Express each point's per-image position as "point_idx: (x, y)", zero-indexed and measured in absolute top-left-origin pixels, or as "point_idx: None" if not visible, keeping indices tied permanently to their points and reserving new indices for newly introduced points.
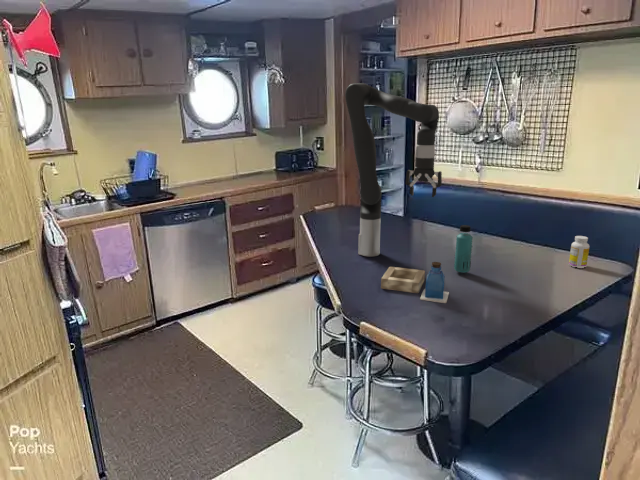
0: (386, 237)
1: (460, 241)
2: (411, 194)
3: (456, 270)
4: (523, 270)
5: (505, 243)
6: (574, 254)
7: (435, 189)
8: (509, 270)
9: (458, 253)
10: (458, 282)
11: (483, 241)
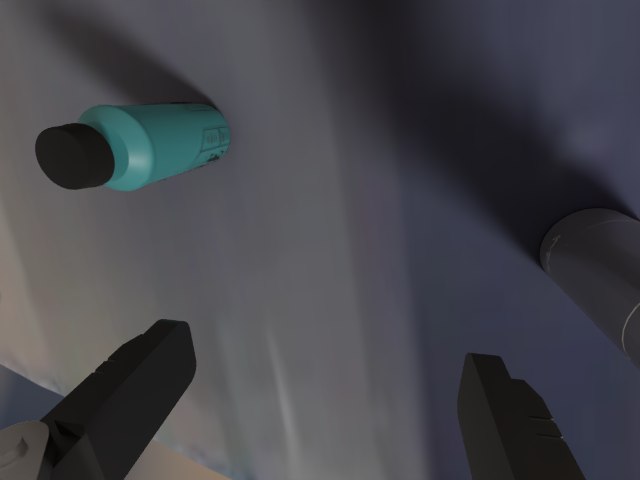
0: None
1: (132, 110)
2: (494, 361)
3: (218, 112)
4: (69, 222)
5: (165, 422)
6: None
7: (62, 410)
8: (99, 210)
9: (177, 111)
10: (200, 23)
11: (218, 431)
